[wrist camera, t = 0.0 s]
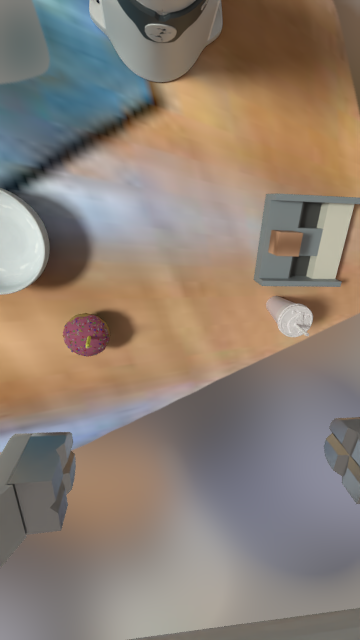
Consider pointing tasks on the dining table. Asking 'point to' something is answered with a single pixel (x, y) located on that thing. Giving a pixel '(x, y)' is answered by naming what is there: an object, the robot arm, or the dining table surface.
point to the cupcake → (86, 334)
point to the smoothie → (290, 316)
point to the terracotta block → (285, 243)
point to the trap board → (304, 239)
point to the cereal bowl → (20, 244)
